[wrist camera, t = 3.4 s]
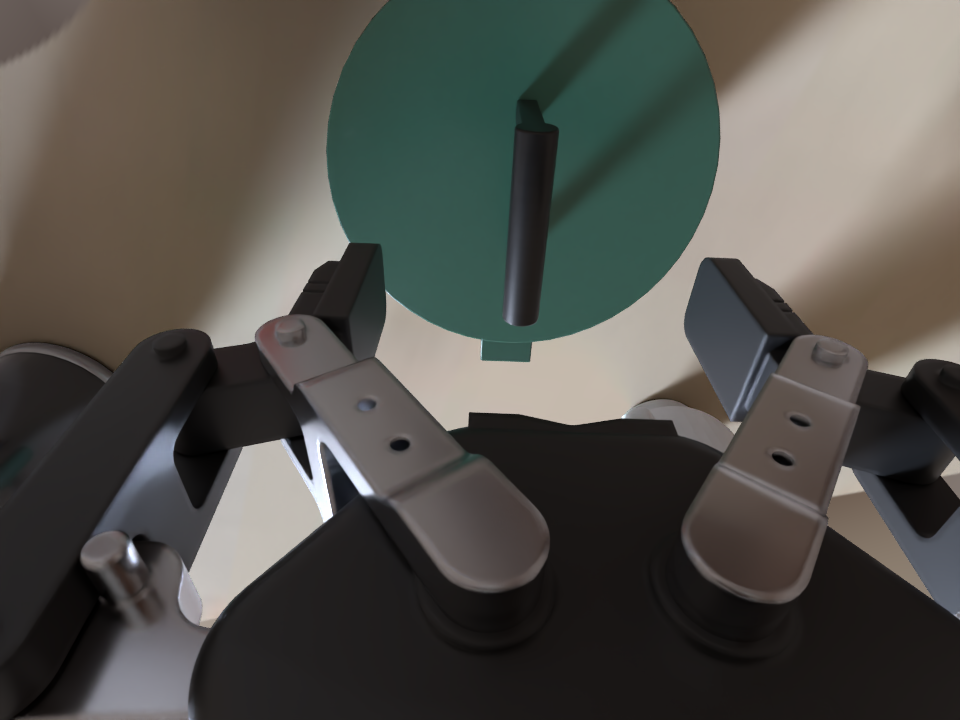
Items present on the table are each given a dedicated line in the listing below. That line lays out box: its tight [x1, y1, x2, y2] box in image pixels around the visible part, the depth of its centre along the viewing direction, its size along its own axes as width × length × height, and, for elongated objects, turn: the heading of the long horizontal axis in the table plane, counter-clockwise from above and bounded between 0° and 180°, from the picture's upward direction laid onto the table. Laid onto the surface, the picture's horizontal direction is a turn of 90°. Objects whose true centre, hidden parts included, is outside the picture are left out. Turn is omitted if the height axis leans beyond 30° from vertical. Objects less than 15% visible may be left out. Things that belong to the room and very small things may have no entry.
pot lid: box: [326, 0, 720, 343], centre depth 18 cm, size 14×14×6 cm
